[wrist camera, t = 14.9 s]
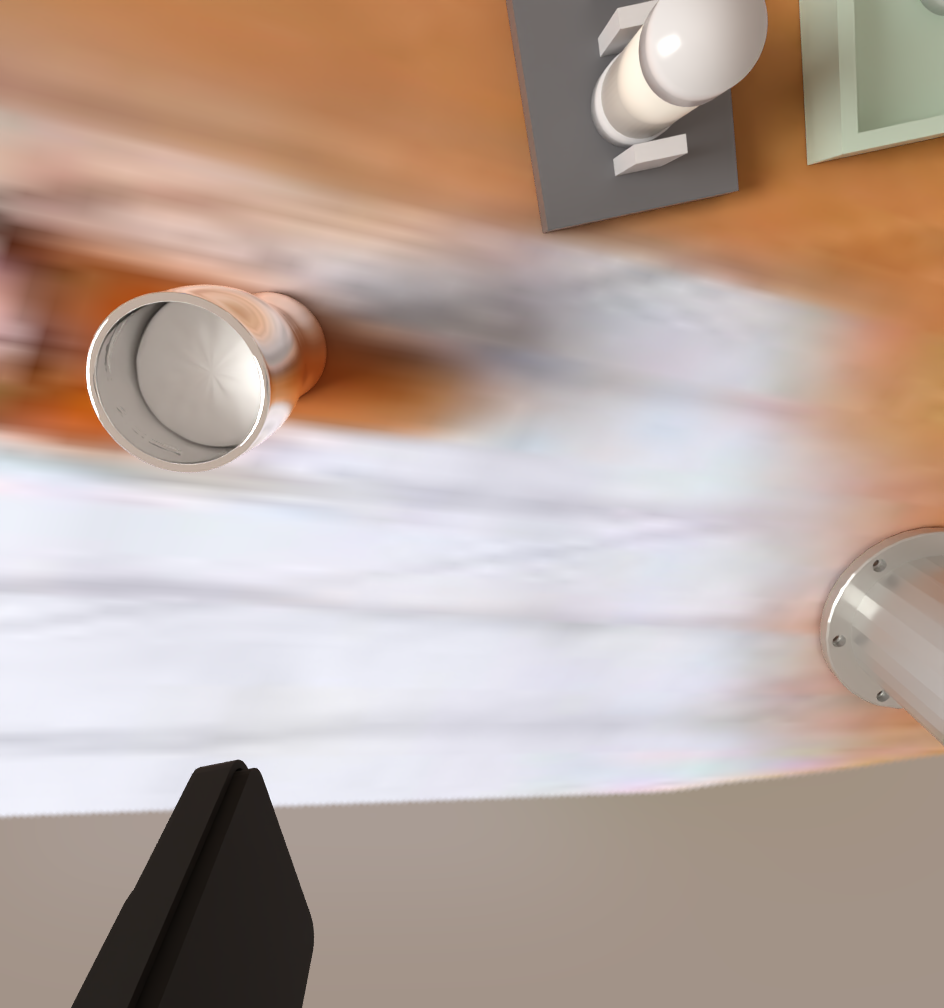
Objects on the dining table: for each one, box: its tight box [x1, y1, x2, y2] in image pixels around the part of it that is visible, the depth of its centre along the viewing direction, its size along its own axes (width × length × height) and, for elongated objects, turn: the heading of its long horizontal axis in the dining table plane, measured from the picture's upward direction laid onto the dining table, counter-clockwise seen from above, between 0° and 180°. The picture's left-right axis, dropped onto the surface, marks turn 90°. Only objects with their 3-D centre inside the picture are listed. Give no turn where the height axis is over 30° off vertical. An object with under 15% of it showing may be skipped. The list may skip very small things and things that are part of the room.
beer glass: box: [86, 285, 327, 473], centre depth 33 cm, size 7×7×15 cm
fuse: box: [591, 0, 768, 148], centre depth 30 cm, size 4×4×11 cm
